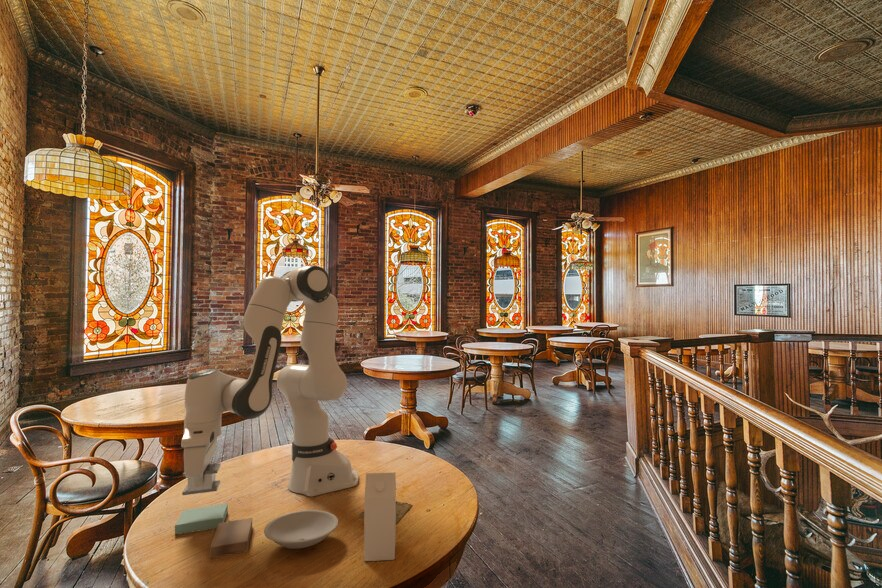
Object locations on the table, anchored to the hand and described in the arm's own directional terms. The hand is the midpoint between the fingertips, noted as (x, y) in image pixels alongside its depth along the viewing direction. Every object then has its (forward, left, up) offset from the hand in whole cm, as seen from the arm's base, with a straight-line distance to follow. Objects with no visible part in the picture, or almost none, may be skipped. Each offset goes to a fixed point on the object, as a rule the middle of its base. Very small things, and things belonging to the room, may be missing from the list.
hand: (201, 481), depth 110 cm
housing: (0, 0, -2) cm, 2 cm away
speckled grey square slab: (-49, +10, -12) cm, 51 cm away
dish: (-26, +19, -12) cm, 34 cm away
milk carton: (-44, +28, -12) cm, 53 cm away
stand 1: (0, 0, -12) cm, 12 cm away
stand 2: (-9, +12, -12) cm, 19 cm away
